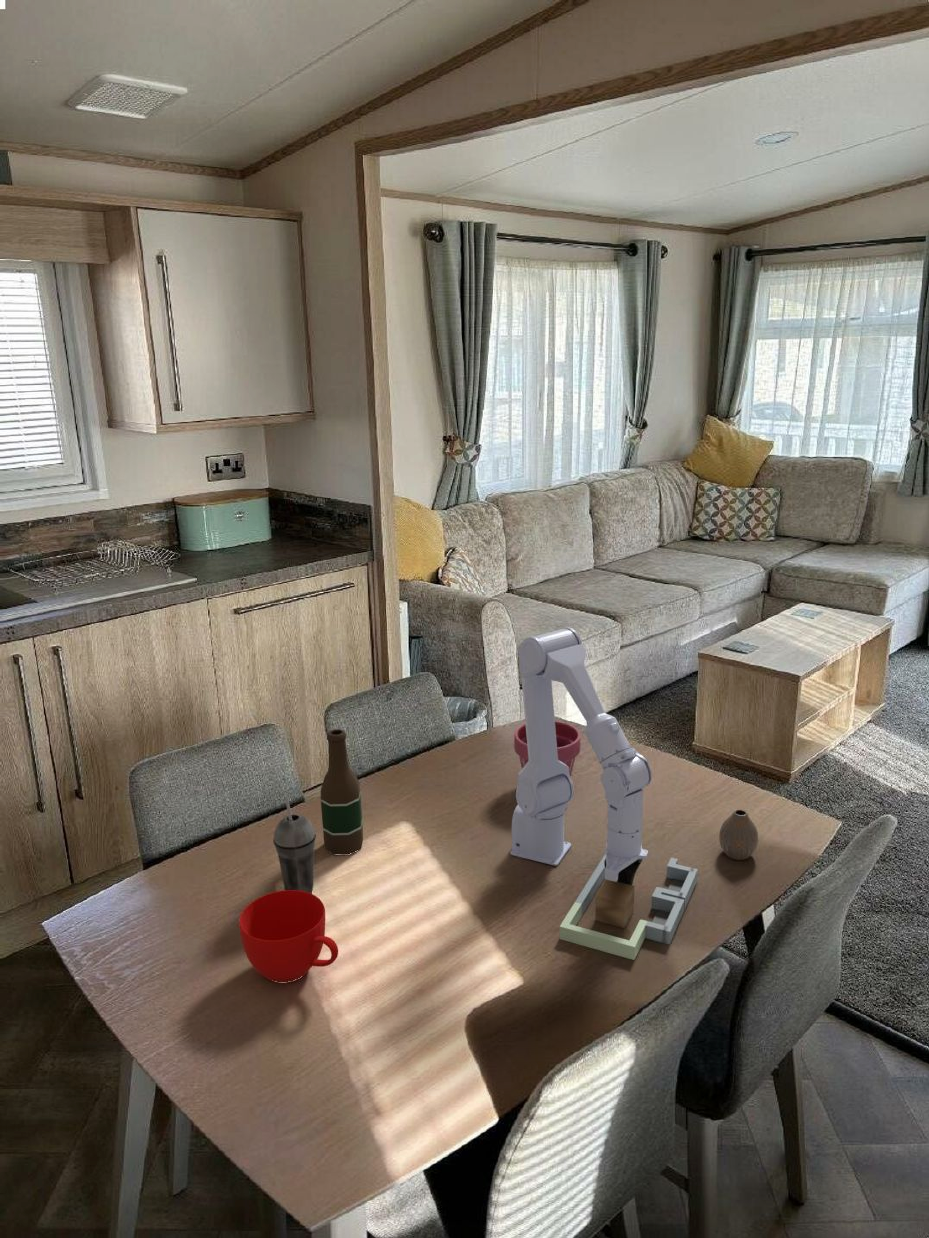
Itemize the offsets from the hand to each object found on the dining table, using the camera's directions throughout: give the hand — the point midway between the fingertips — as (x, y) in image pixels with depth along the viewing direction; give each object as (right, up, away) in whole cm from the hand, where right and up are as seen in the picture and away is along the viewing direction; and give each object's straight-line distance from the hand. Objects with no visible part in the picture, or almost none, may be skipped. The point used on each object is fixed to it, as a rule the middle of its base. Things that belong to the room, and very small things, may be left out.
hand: (622, 895), depth 155 cm
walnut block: (-2, -2, -3) cm, 4 cm away
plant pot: (-9, +11, +41) cm, 43 cm away
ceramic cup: (-53, -8, -15) cm, 56 cm away
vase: (+24, +3, +14) cm, 28 cm away
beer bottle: (-50, +3, +20) cm, 54 cm away
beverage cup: (-56, -2, +5) cm, 56 cm away
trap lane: (+2, -2, 0) cm, 2 cm away
